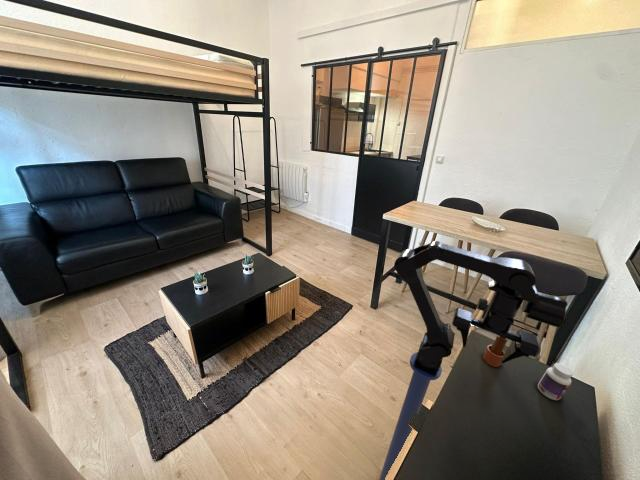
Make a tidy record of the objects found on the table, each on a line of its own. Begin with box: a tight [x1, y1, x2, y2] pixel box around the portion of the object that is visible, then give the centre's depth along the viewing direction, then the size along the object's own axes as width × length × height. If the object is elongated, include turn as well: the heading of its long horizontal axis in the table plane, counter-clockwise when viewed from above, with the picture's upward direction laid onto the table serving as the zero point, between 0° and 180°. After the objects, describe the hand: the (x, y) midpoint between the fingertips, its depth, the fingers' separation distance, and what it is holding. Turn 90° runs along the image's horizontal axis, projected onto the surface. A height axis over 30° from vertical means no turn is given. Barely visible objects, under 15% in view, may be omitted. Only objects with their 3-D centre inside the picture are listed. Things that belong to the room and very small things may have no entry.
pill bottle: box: [537, 362, 574, 401], centre depth 73 cm, size 5×5×10 cm
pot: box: [482, 344, 506, 368], centre depth 83 cm, size 5×5×4 cm
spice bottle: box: [490, 329, 511, 356], centre depth 81 cm, size 3×3×13 cm
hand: (482, 353), depth 69 cm, fingers open, 9 cm apart
